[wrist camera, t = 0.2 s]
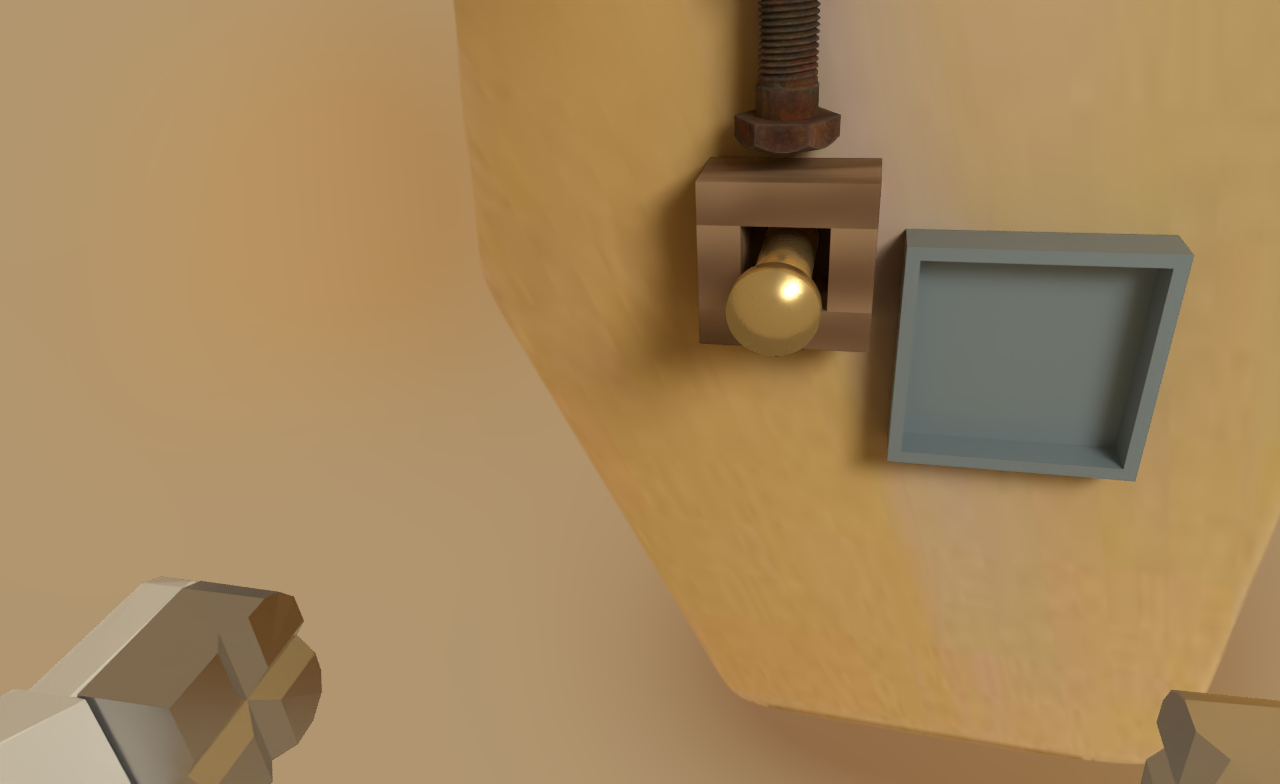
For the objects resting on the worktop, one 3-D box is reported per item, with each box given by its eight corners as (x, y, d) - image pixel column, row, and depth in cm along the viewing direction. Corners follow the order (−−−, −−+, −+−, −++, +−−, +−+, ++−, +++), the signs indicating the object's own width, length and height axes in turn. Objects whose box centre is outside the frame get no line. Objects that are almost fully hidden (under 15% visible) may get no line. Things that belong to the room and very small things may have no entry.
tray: (906, 229, 53) (907, 246, 51) (1178, 235, 50) (1194, 255, 48) (887, 436, 61) (887, 461, 58) (1124, 454, 57) (1135, 481, 55)
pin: (753, 200, 55) (725, 269, 45) (833, 201, 54) (822, 272, 44) (753, 273, 57) (726, 353, 48) (830, 276, 56) (818, 359, 47)
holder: (710, 157, 54) (695, 181, 50) (882, 158, 52) (881, 184, 48) (713, 309, 59) (699, 343, 55) (870, 316, 57) (868, 352, 52)
